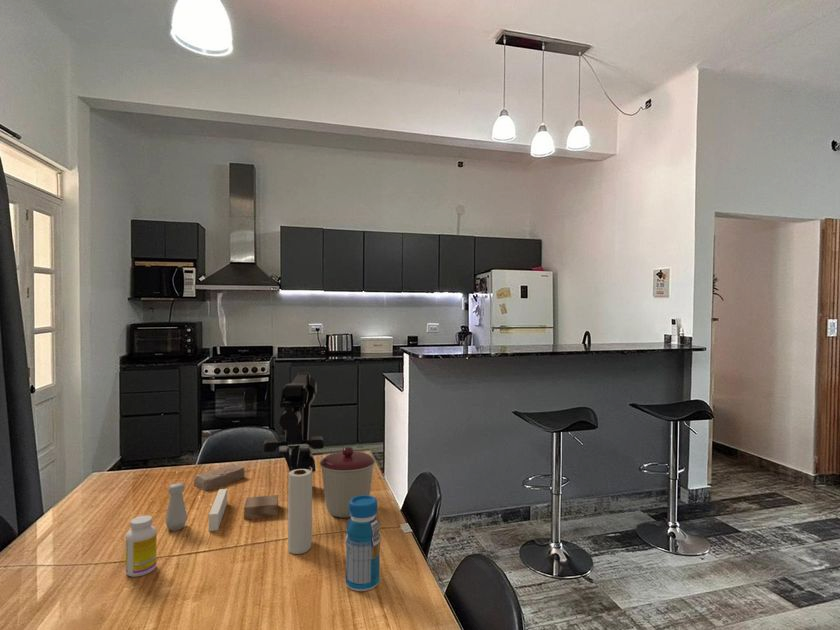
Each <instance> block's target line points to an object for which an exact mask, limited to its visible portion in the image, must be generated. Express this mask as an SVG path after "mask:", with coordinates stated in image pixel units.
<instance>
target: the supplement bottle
mask: <svg viewBox="0 0 840 630" xmlns="http://www.w3.org/2000/svg"><path fill="white" fill-rule="evenodd" d="M129 523H130V525H129V527H130V530H128V532H127V533H126V534H125V574H126V575H127V576H129V577H134V578H135V577H142V576H145V575H148V574H150V573H151V572H153V571H154V570H155V569H156V567H157V528H156V527H155V526H153V525H152V523H153V517H152V516H151V515H140V516H137V517H134V518H132V519H131V520H130V522H129Z"/></svg>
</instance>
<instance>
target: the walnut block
mask: <svg viewBox="0 0 840 630" xmlns="http://www.w3.org/2000/svg"><path fill="white" fill-rule="evenodd" d="M278 512H279V494H273V495H261V496H260V495H259V496H250V497H246V499H245V503H244V505H243V520H249V519H250V520H251V519H252V520H253V519H261V518H269V517H270V518H272V517H278Z"/></svg>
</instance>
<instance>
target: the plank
mask: <svg viewBox="0 0 840 630" xmlns="http://www.w3.org/2000/svg"><path fill="white" fill-rule="evenodd" d="M227 505H228V488H220V489H218V491H217V494H216V497H215V498H214V501H213V503H212V506H211V509H210V511H209V514H208V532H215V531H219V529H220V525H221V522H222V520H223V516H224V514H225V511H226V508H227Z"/></svg>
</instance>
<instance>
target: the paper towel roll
mask: <svg viewBox="0 0 840 630" xmlns="http://www.w3.org/2000/svg"><path fill="white" fill-rule="evenodd" d="M287 501H288V502H287V504H288V507H287V508H288V509H287V510H288V511H287V512H288V513H287V514H288V515H287V517H288V518H287V519H288V520H287V521H288V523H287V524H288V528H287V550H288V552H289V553H290V554H292V555H301V554H304V553H307V552H308V551H310V549H311V547H312V541H313V539H312V538H313V537H312V536H313V533H312V532H313V531H312V530H313V529H312V528H313V526H312V525H313V519H312V518H313V473H312V468H311V471H310V470H308V469H296V470H292V471H290V472H289V471H288V500H287Z"/></svg>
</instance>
